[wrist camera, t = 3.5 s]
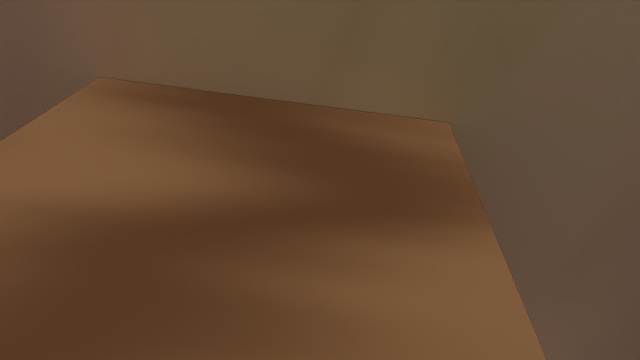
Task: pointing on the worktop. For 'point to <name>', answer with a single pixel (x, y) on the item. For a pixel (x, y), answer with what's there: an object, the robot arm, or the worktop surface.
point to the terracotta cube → (245, 235)
